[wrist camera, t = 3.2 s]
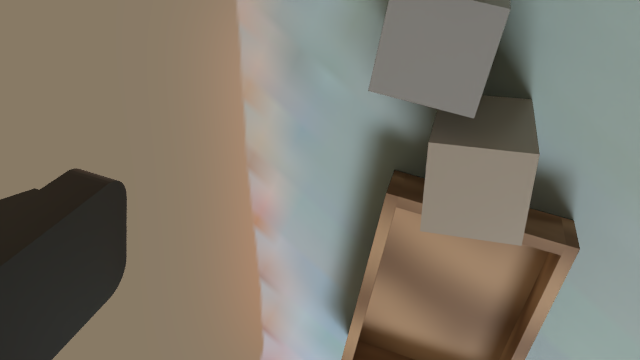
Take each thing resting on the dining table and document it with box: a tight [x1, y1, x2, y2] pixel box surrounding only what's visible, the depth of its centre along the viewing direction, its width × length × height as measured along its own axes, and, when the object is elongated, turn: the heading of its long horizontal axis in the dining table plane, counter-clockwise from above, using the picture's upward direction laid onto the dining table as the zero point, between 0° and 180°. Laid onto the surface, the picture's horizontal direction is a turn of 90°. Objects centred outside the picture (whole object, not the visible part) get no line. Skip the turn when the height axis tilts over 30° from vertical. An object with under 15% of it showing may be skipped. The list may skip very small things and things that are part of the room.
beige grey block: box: [420, 95, 540, 246], centre depth 25 cm, size 4×4×6 cm
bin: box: [341, 170, 580, 360], centre depth 31 cm, size 12×9×2 cm
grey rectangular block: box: [368, 0, 511, 118], centre depth 23 cm, size 4×4×6 cm
